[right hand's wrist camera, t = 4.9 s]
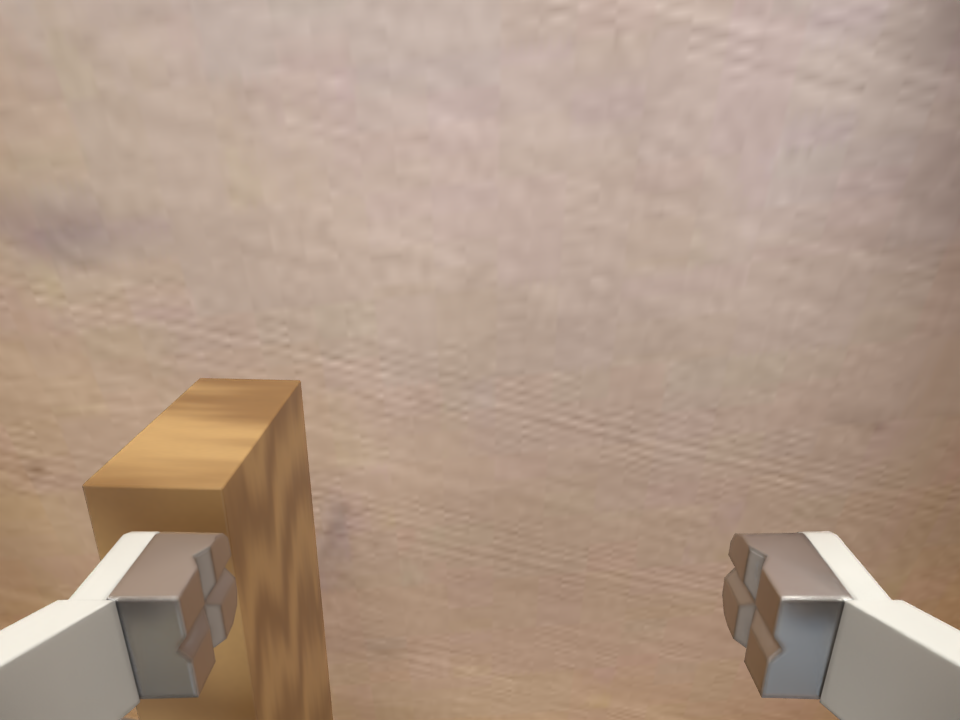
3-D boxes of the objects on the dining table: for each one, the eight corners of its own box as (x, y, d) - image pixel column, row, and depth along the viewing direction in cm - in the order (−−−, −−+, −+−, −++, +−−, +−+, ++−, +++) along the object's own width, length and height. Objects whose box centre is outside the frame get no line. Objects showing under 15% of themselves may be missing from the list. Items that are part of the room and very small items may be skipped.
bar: (199, 377, 29) (80, 485, 21) (301, 379, 29) (221, 488, 21) (262, 783, 38) (198, 968, 30) (339, 785, 38) (295, 972, 30)
